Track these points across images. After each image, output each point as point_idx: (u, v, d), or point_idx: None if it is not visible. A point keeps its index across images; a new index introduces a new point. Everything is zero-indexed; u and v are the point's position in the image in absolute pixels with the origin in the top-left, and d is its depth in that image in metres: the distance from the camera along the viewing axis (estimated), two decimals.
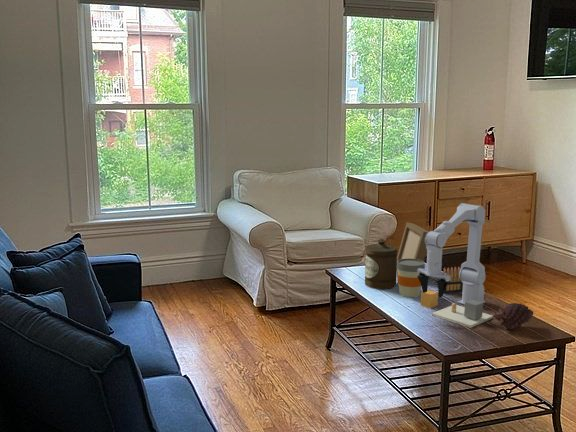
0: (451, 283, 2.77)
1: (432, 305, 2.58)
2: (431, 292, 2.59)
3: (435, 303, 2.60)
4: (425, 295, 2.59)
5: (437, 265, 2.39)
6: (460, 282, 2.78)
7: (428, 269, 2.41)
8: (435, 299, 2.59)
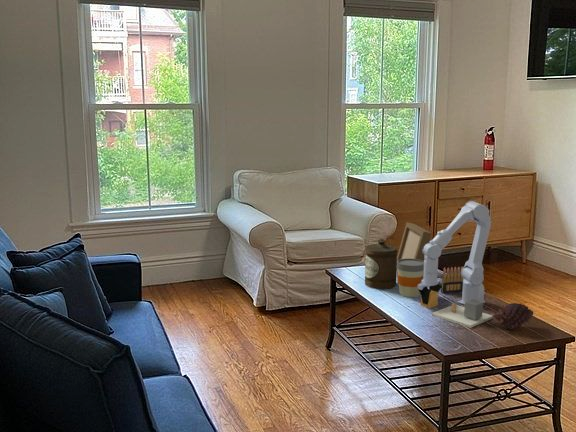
0: (451, 283, 2.77)
1: (432, 305, 2.58)
2: (431, 292, 2.59)
3: (435, 303, 2.60)
4: None
5: (424, 273, 2.58)
6: (460, 282, 2.78)
7: None
8: (435, 299, 2.59)
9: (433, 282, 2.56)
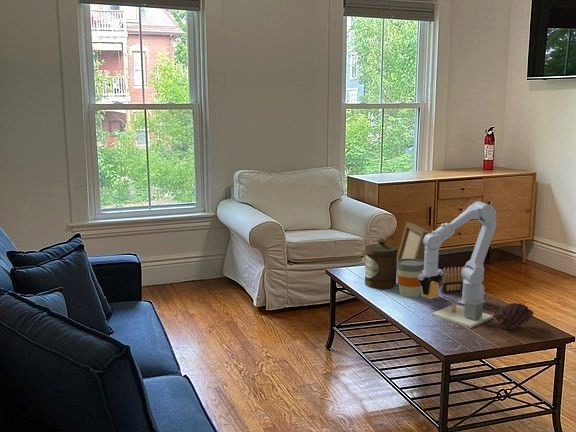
0: (451, 283, 2.77)
1: (433, 296, 2.58)
2: (431, 283, 2.58)
3: (436, 294, 2.59)
4: None
5: (424, 264, 2.57)
6: (460, 282, 2.78)
7: None
8: (436, 289, 2.58)
9: (434, 272, 2.55)
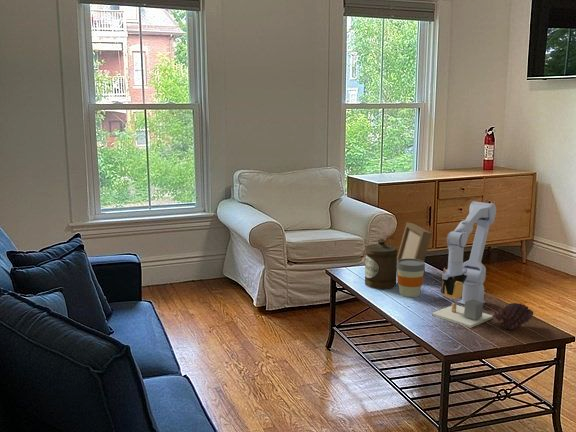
0: None
1: (457, 296, 2.47)
2: (455, 282, 2.48)
3: (460, 294, 2.48)
4: None
5: (449, 263, 2.46)
6: None
7: None
8: (460, 289, 2.48)
9: (458, 272, 2.45)
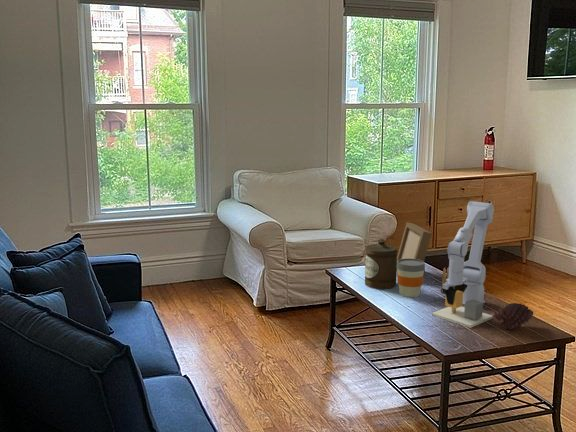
0: None
1: (457, 305, 2.48)
2: (456, 292, 2.48)
3: (460, 303, 2.49)
4: None
5: (449, 272, 2.47)
6: None
7: None
8: (460, 299, 2.48)
9: (459, 281, 2.45)
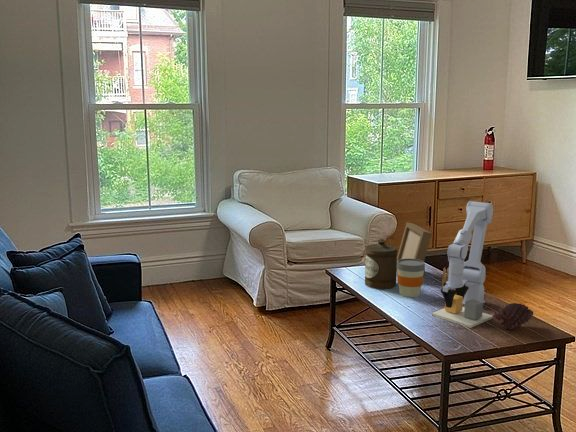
0: None
1: (457, 310, 2.48)
2: (455, 297, 2.49)
3: (460, 308, 2.49)
4: None
5: (449, 275, 2.47)
6: None
7: None
8: (460, 303, 2.49)
9: (459, 284, 2.46)
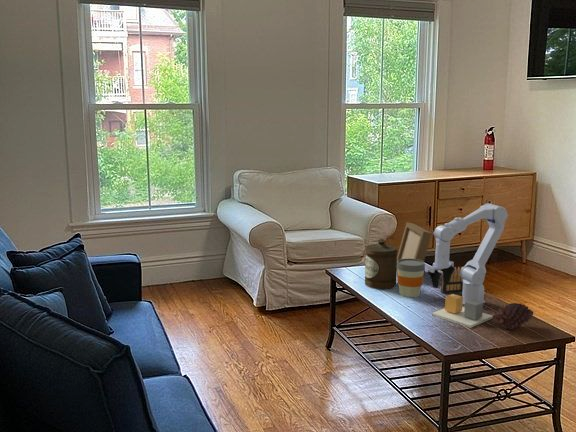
0: (451, 283, 2.77)
1: (457, 310, 2.48)
2: (456, 297, 2.49)
3: (460, 308, 2.49)
4: (450, 300, 2.48)
5: (436, 256, 2.54)
6: (460, 282, 2.78)
7: None
8: (460, 303, 2.49)
9: (445, 265, 2.53)
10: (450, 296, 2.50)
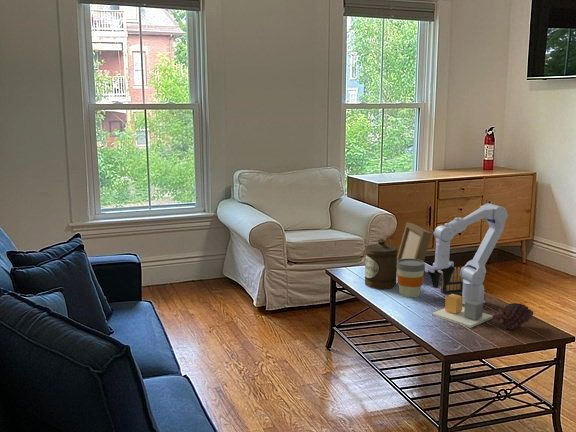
0: (451, 283, 2.77)
1: (457, 310, 2.48)
2: (455, 297, 2.49)
3: (460, 308, 2.49)
4: (450, 300, 2.48)
5: (436, 256, 2.54)
6: (460, 282, 2.78)
7: None
8: (460, 303, 2.49)
9: (445, 265, 2.53)
10: (450, 296, 2.49)
